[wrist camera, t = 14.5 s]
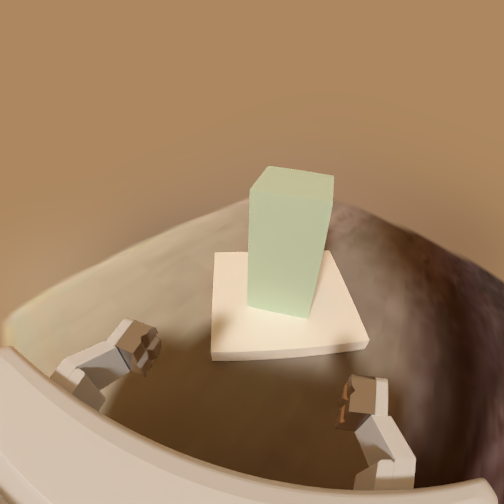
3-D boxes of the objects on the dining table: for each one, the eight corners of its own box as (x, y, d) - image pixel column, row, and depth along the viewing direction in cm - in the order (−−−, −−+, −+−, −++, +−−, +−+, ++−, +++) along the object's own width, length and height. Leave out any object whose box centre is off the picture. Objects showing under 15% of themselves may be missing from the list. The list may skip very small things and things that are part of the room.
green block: (314, 279, 25) (333, 175, 20) (307, 318, 21) (332, 202, 16) (262, 269, 26) (268, 165, 21) (246, 306, 22) (249, 189, 17)
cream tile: (327, 259, 30) (329, 250, 29) (364, 348, 20) (369, 339, 20) (215, 261, 29) (215, 252, 28) (212, 361, 19) (210, 352, 19)
